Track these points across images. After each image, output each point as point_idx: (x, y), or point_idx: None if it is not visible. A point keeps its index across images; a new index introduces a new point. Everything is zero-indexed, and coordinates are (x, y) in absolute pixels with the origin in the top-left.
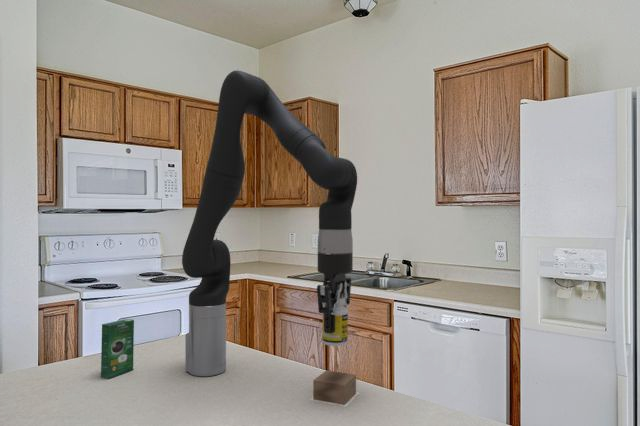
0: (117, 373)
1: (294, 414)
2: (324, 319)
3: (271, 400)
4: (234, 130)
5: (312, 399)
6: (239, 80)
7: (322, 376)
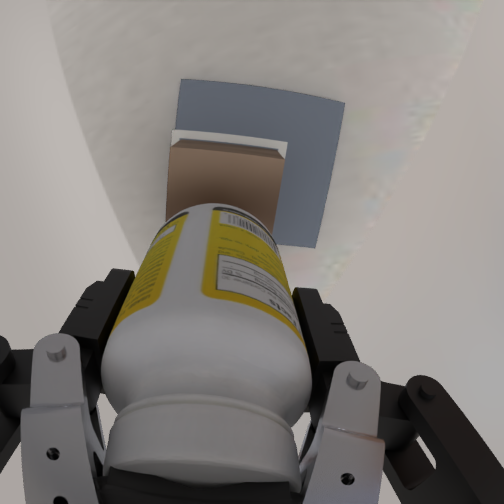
0: None
1: (110, 117)
2: (64, 323)
3: (177, 23)
4: None
5: (178, 137)
6: None
7: (217, 163)
